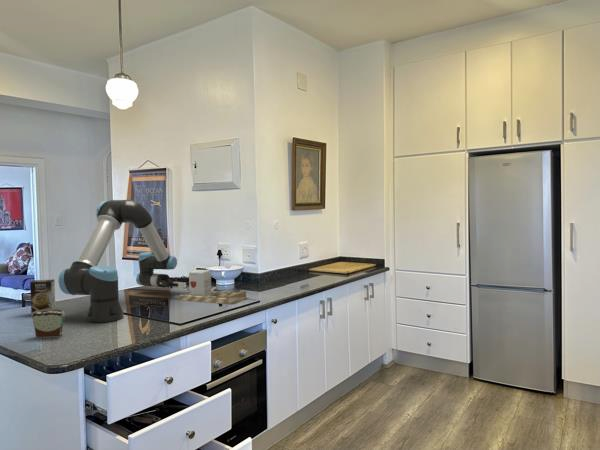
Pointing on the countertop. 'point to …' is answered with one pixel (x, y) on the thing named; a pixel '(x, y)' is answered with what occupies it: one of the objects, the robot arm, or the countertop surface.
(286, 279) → the countertop surface
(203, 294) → the supplement box
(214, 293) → the wooden cutting board
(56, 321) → the food container
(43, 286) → the coffee box
